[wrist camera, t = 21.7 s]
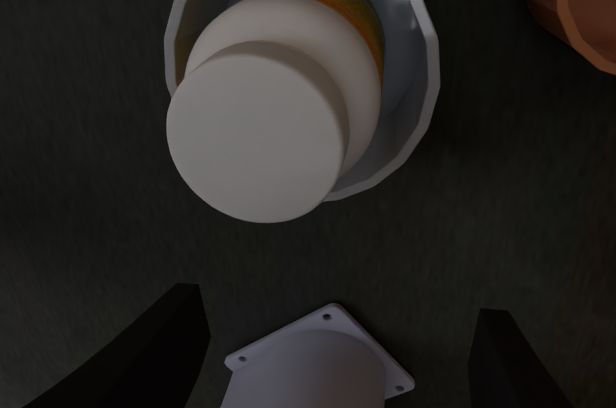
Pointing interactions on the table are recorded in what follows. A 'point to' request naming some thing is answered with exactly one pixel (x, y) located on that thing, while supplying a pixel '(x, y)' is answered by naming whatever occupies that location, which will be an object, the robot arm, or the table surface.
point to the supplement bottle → (277, 104)
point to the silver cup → (395, 90)
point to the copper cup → (581, 28)
